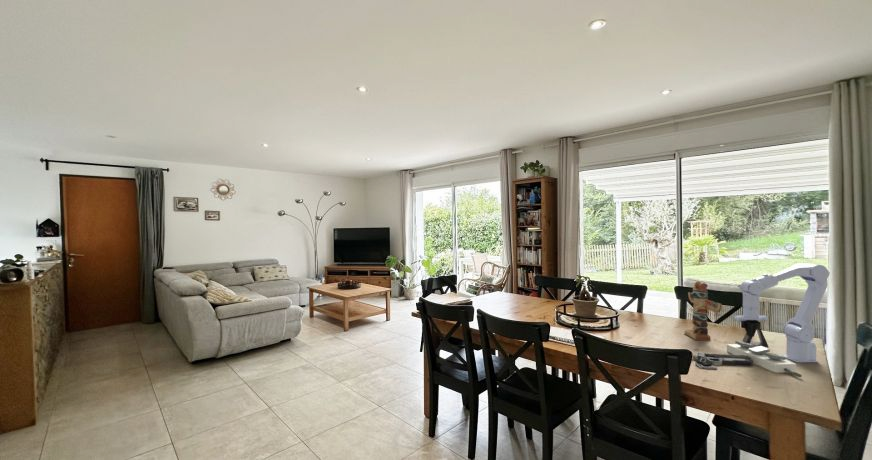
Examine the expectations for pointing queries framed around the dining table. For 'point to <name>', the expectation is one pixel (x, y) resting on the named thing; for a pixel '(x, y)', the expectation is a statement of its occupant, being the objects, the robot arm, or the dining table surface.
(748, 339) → the dark grey a-frame stand
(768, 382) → the dining table surface
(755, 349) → the rocker
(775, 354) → the rocker
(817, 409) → the dining table surface
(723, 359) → the firearm
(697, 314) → the totem pole
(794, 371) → the power strip
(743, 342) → the rocker
